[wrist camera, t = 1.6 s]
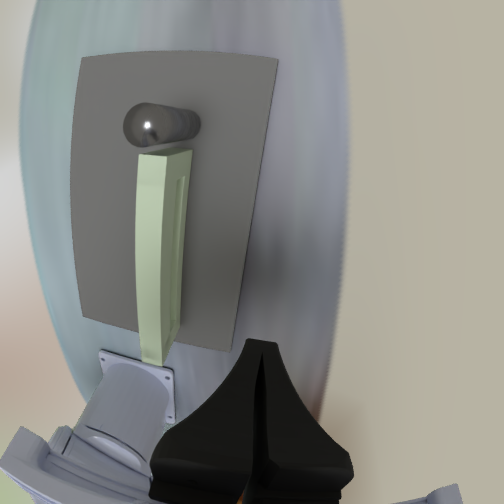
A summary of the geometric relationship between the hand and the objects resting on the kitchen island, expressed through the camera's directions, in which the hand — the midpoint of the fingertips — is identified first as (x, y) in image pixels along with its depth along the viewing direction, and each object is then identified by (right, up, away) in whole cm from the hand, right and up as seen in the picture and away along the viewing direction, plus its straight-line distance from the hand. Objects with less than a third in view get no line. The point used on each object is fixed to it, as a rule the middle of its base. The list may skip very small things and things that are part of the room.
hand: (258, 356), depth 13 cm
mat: (-7, +8, +7) cm, 13 cm away
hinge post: (-4, +13, +5) cm, 14 cm away
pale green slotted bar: (-6, +5, +7) cm, 11 cm away
